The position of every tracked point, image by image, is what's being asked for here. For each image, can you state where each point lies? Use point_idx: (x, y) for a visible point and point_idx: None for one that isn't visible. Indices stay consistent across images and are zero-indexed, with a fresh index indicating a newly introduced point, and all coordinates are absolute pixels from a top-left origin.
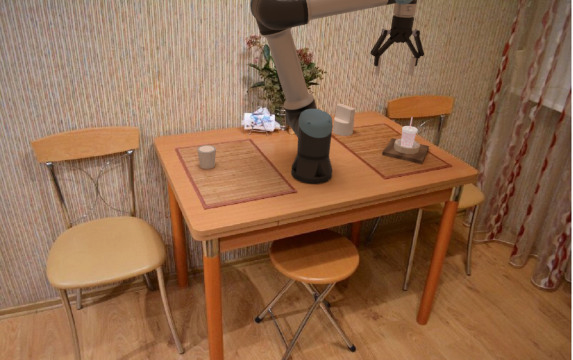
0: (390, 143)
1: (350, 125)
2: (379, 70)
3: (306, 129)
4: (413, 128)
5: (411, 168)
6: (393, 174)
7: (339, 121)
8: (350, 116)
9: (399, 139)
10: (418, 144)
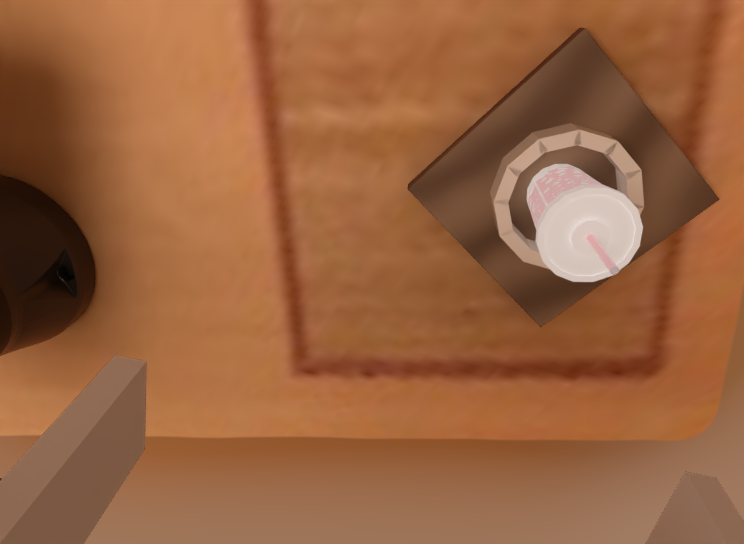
0: (520, 103)
1: None
2: (100, 509)
3: None
4: (621, 234)
5: (461, 336)
6: (351, 354)
7: None
8: None
9: (560, 143)
10: None
